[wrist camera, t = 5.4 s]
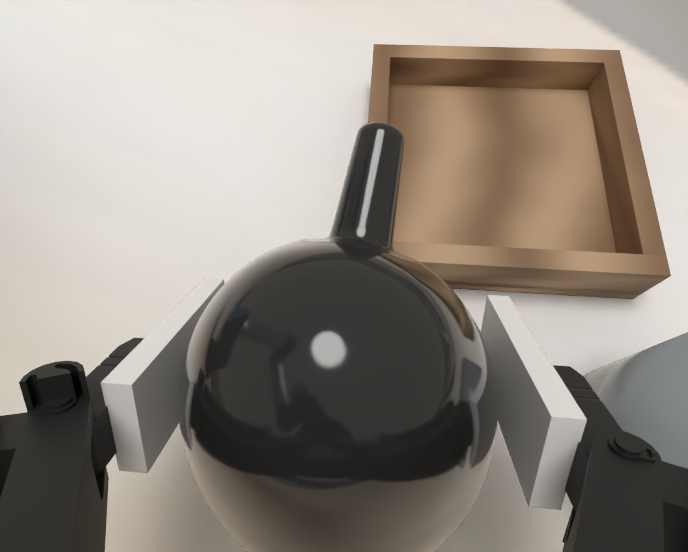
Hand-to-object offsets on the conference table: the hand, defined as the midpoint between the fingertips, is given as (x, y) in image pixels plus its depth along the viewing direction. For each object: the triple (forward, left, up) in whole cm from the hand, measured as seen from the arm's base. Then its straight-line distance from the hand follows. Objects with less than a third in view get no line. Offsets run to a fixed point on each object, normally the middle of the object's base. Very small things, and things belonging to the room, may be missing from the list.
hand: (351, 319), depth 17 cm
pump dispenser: (0, -3, -6) cm, 7 cm away
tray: (+7, +11, -6) cm, 14 cm away
